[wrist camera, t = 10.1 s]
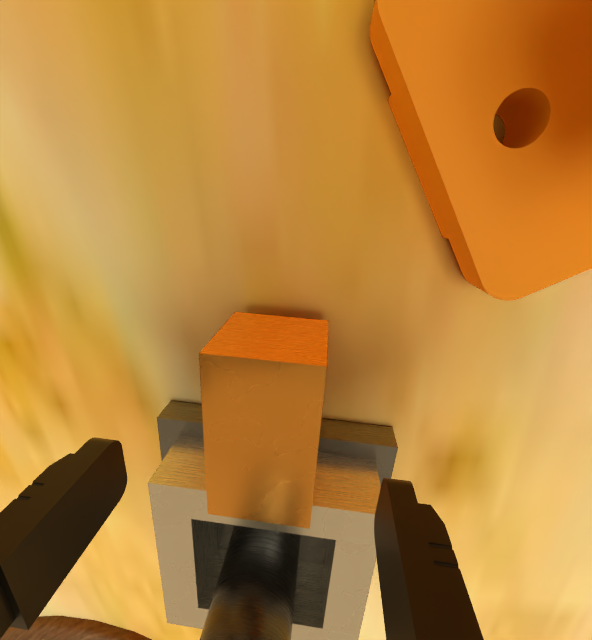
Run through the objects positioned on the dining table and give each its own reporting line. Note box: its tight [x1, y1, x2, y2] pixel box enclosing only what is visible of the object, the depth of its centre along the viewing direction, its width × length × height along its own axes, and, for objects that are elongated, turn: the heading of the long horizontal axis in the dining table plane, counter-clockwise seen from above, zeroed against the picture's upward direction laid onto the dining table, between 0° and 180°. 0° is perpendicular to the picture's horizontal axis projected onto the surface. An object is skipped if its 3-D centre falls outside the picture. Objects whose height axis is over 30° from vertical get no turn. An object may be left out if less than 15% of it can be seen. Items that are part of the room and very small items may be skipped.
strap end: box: [148, 312, 381, 640], centre depth 15 cm, size 17×10×4 cm, turn 177°
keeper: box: [157, 401, 398, 640], centre depth 14 cm, size 12×12×12 cm
